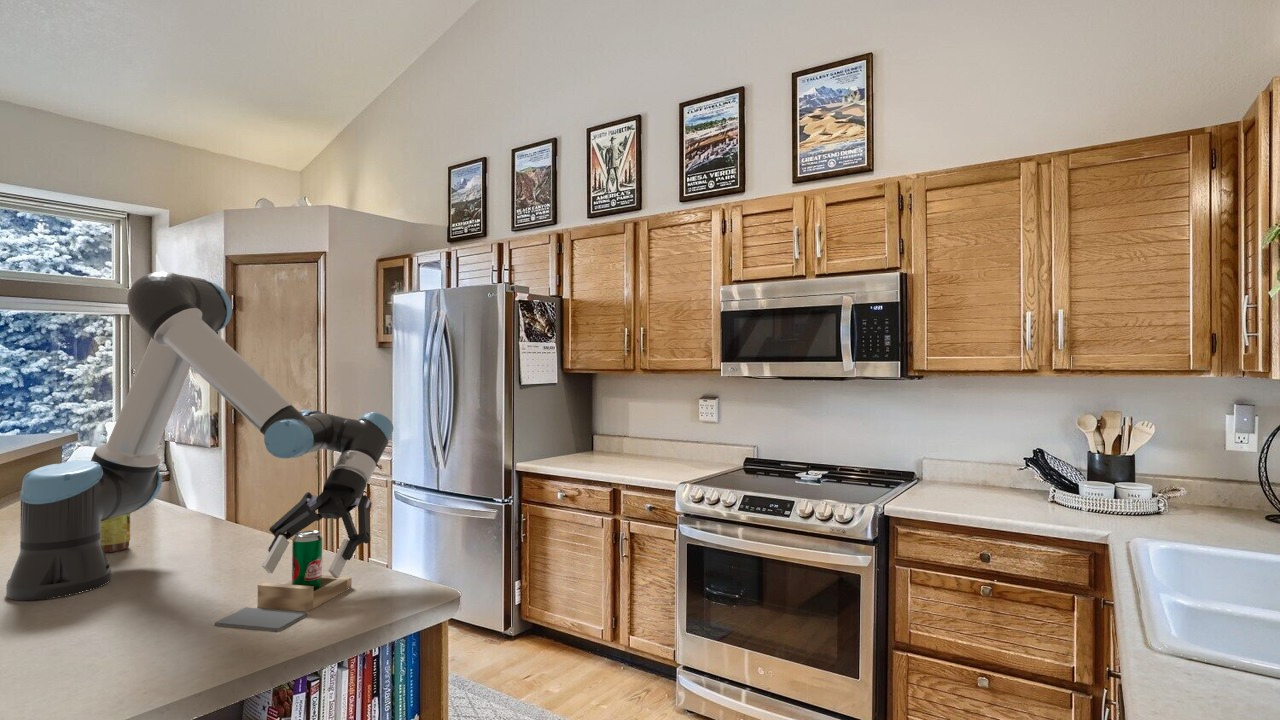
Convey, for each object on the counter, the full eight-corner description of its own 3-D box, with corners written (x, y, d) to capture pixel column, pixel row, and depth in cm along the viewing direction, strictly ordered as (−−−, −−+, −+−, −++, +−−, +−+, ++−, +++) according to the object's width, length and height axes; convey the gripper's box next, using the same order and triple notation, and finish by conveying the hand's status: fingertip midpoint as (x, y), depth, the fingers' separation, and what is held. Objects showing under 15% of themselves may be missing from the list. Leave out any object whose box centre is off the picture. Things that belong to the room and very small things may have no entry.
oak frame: (257, 607, 118) (257, 585, 118) (305, 583, 131) (306, 563, 131) (307, 611, 117) (308, 589, 117) (351, 587, 129) (351, 567, 129)
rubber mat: (214, 625, 110) (214, 622, 110) (246, 610, 117) (246, 607, 117) (278, 631, 108) (278, 628, 108) (307, 615, 115) (307, 612, 115)
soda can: (309, 603, 121) (310, 537, 121) (285, 600, 122) (286, 535, 122) (327, 593, 126) (328, 530, 126) (304, 591, 127) (305, 529, 127)
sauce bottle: (134, 549, 153) (136, 463, 153) (101, 555, 148) (103, 467, 148) (122, 544, 156) (124, 461, 157) (90, 550, 151) (92, 464, 151)
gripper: (287, 464, 136) (229, 557, 121) (398, 469, 132) (353, 566, 117) (303, 485, 141) (250, 577, 126) (411, 490, 137) (369, 586, 122)
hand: (299, 572), depth 122 cm, fingers open, 13 cm apart
